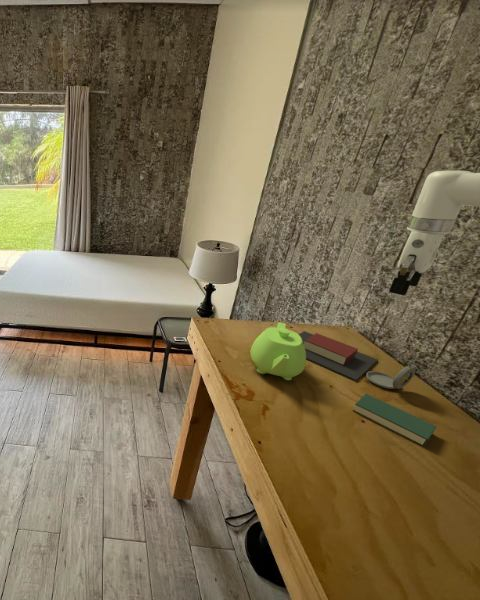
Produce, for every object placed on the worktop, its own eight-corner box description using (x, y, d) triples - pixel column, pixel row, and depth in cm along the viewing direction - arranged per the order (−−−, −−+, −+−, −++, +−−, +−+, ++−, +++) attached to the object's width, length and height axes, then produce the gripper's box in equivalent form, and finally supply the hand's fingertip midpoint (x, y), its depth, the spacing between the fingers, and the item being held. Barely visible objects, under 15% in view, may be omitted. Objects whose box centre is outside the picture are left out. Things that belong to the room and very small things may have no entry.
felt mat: (377, 361, 93) (378, 359, 93) (355, 381, 85) (356, 379, 85) (303, 332, 108) (304, 330, 108) (279, 347, 100) (279, 345, 100)
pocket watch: (364, 371, 89) (378, 341, 85) (405, 382, 85) (421, 351, 80) (366, 387, 83) (381, 355, 79) (410, 400, 79) (428, 367, 74)
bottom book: (432, 433, 69) (437, 426, 69) (423, 447, 66) (428, 439, 65) (362, 400, 79) (365, 393, 78) (352, 410, 76) (355, 403, 75)
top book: (354, 357, 94) (358, 348, 93) (344, 366, 90) (347, 357, 89) (313, 340, 102) (316, 332, 101) (302, 348, 99) (305, 340, 97)
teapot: (304, 397, 80) (319, 356, 75) (246, 381, 86) (256, 342, 81) (298, 355, 96) (310, 319, 91) (249, 345, 102) (257, 310, 97)
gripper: (442, 232, 70) (412, 302, 77) (460, 222, 79) (431, 285, 86) (398, 227, 76) (373, 292, 83) (419, 218, 85) (394, 278, 92)
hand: (402, 289), depth 85 cm, fingers open, 9 cm apart
